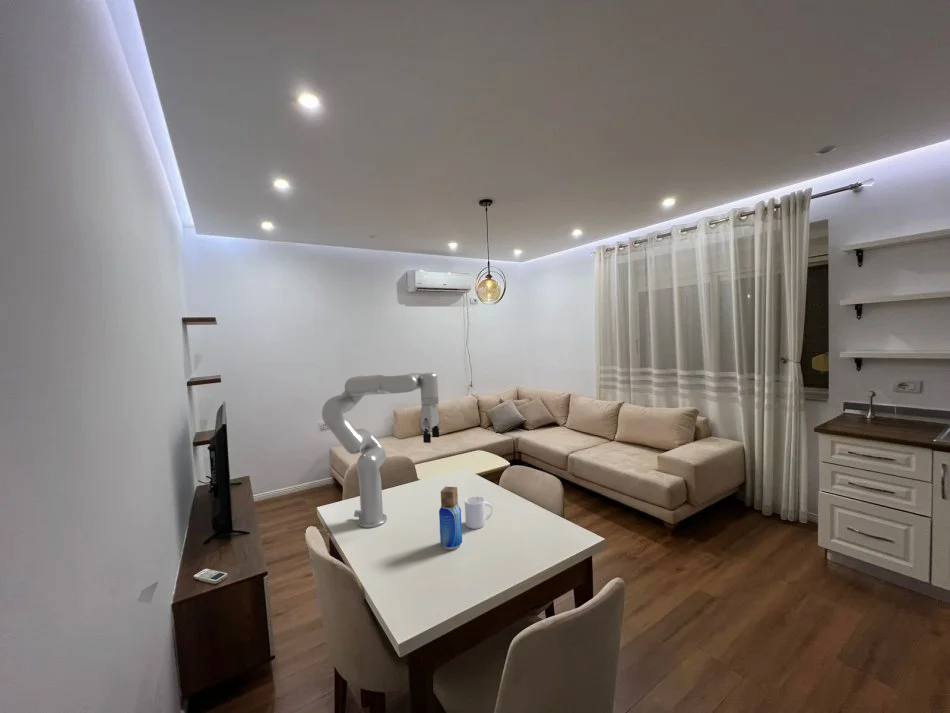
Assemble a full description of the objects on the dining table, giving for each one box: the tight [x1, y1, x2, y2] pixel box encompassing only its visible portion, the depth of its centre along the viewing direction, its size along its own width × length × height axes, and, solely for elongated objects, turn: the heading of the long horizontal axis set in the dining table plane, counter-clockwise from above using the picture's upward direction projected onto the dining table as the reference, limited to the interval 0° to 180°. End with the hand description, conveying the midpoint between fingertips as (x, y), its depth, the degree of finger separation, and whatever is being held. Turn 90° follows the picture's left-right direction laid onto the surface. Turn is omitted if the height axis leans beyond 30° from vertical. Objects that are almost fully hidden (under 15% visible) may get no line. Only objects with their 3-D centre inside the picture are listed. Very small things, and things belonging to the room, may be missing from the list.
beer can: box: [438, 502, 463, 551], centre depth 149 cm, size 8×8×16 cm
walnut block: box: [440, 486, 459, 508], centre depth 149 cm, size 5×5×6 cm
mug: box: [464, 495, 493, 530], centre depth 166 cm, size 9×12×11 cm
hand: (431, 439), depth 170 cm, fingers open, 9 cm apart
